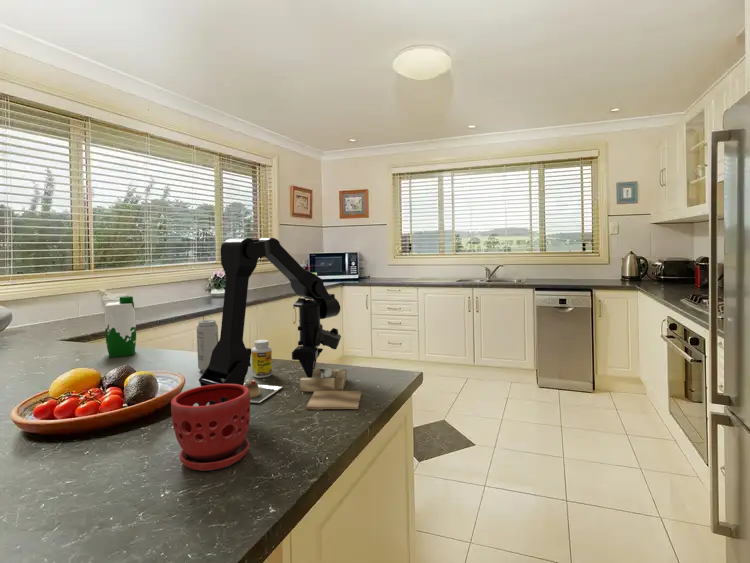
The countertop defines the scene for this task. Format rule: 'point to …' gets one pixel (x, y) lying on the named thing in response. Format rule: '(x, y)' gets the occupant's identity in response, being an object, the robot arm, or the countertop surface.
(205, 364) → the energy drink can
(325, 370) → the steel post
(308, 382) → the c link
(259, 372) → the supplement bottle
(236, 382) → the robot arm
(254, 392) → the dessert
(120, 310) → the milk carton
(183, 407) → the plant pot
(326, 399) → the cork mat
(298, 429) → the countertop surface
